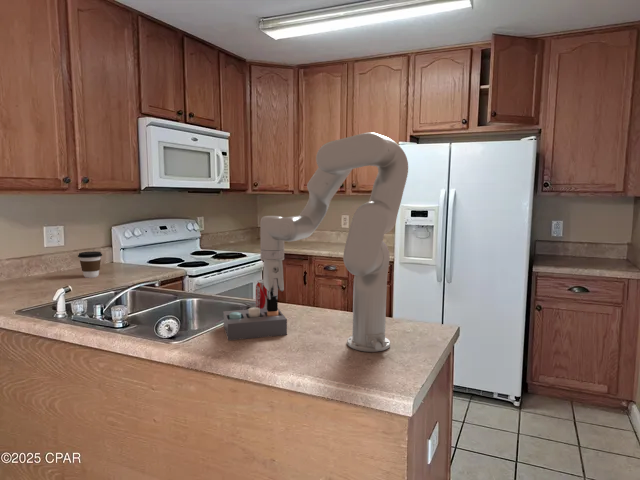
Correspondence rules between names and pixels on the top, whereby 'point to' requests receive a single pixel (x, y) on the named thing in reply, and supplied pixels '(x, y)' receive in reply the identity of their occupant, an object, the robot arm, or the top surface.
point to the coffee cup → (90, 263)
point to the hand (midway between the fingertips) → (272, 310)
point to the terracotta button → (272, 313)
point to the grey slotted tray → (254, 325)
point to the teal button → (235, 315)
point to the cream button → (254, 312)
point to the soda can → (261, 295)
